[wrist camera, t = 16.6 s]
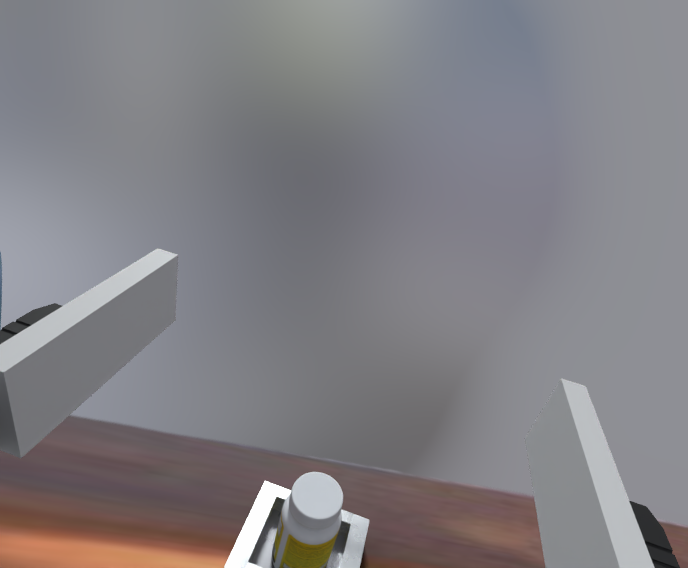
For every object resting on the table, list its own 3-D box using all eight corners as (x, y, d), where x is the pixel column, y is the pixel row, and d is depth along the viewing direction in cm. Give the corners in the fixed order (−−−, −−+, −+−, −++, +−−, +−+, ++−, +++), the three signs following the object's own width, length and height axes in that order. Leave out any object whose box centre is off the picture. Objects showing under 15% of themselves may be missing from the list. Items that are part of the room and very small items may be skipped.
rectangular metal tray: (221, 584, 35) (224, 567, 34) (261, 497, 42) (265, 480, 41) (342, 633, 34) (349, 617, 33) (362, 536, 41) (369, 519, 40)
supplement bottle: (337, 568, 37) (361, 507, 33) (289, 599, 35) (308, 537, 30) (308, 519, 40) (326, 458, 36) (261, 544, 38) (275, 481, 34)
